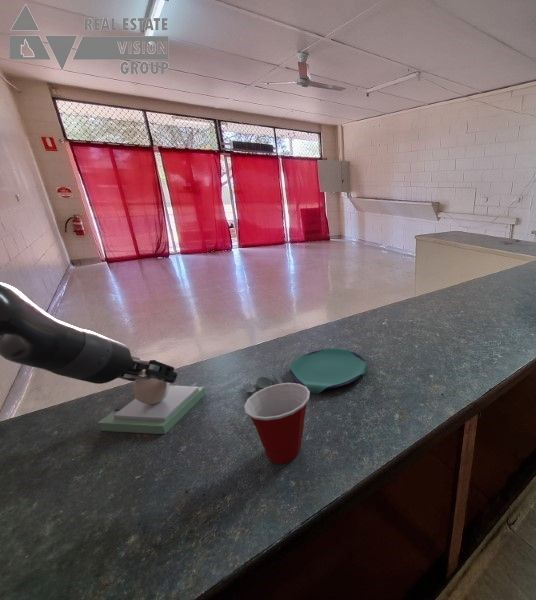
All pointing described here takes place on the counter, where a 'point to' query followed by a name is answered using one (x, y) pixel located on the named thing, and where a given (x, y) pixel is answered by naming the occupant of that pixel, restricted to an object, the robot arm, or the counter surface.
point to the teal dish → (321, 370)
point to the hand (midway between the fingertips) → (155, 377)
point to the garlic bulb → (150, 390)
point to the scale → (153, 412)
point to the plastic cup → (279, 419)
